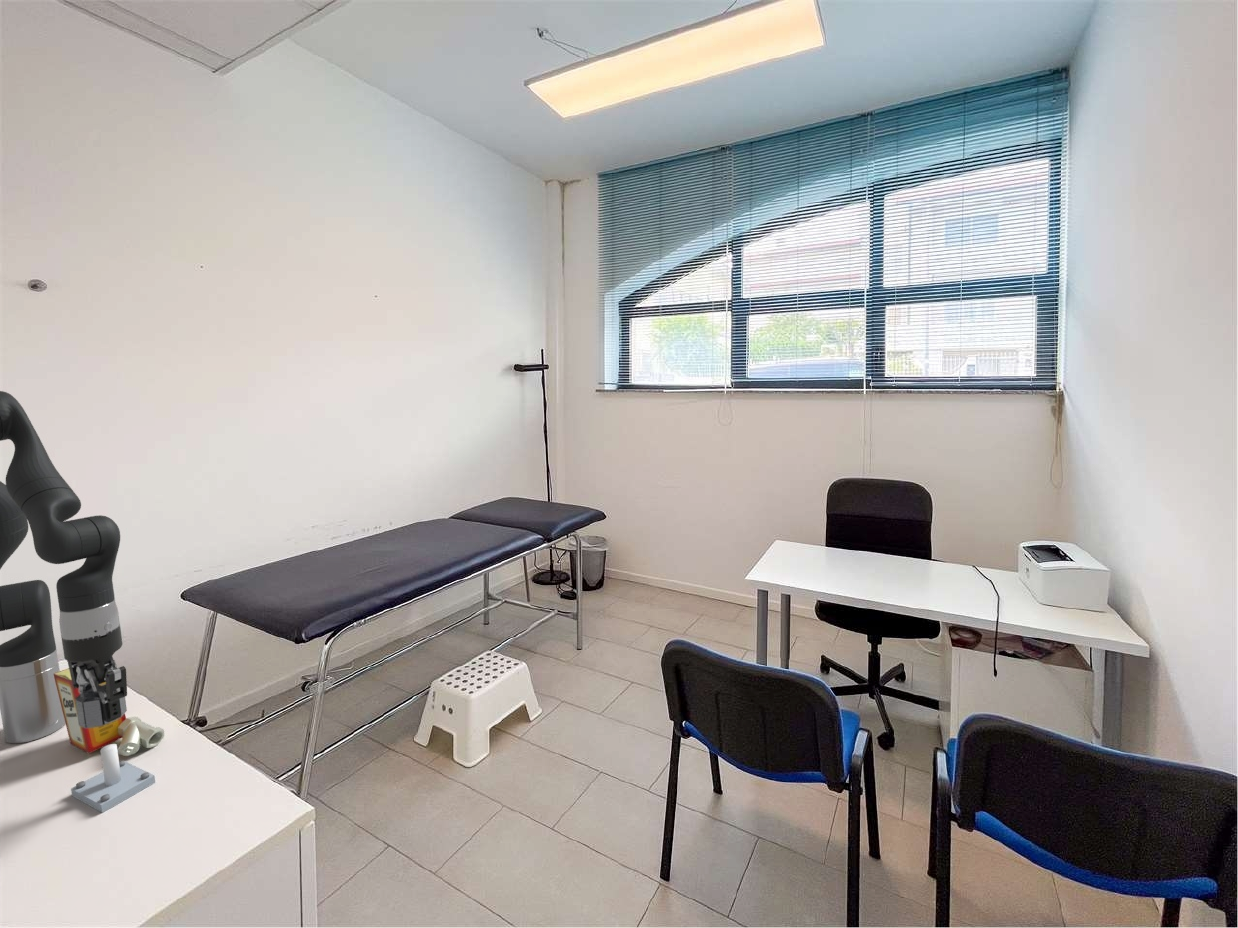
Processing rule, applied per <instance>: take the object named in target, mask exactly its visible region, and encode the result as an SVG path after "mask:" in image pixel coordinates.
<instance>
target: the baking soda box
mask: <svg viewBox="0 0 1238 928" xmlns="http://www.w3.org/2000/svg"><path fill="white" fill-rule="evenodd" d="M54 678H55V682H56V686H57V690H58V695H59V699H60V703H61V707H62V711H63V715H64V719H65V723H66V724H65V727H66V731H67V735H68V738H69V743H70V745H73V746H74V747H77V748H78V749H80V750H82V751H84V752H86V753H87V754H90V753H93V752H95V751H97V750H99V749H102V748H103V747H105V746H107V745H110V744H113V743H115V742H116V741H118V740H122V736H120V735H119V734H118V727H119V725H120V724H121V723H122V722H123V721H124V720H125V719H127V716H126V713H125V714H124V715H123V716H122V717H121V718H120V719H117V720H115V721H113V722H111V723H109V724H106V725H103V726H99V727H93V728H88V729H87V728H86V729H85V728H83V727H81V726H79V723H78V717H77V710H76V703H75V699H76V698H77V697H78V696H79V695H80V693H79V690H78V689H79V688H76V689H75V688H74V687H73V684H72V679H71V675H70V670H69V667H68V668H65V669H62V670H60V671H59V672H57V673H54ZM103 684H106V682H104V683H101V684H99V685H103Z"/></svg>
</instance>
